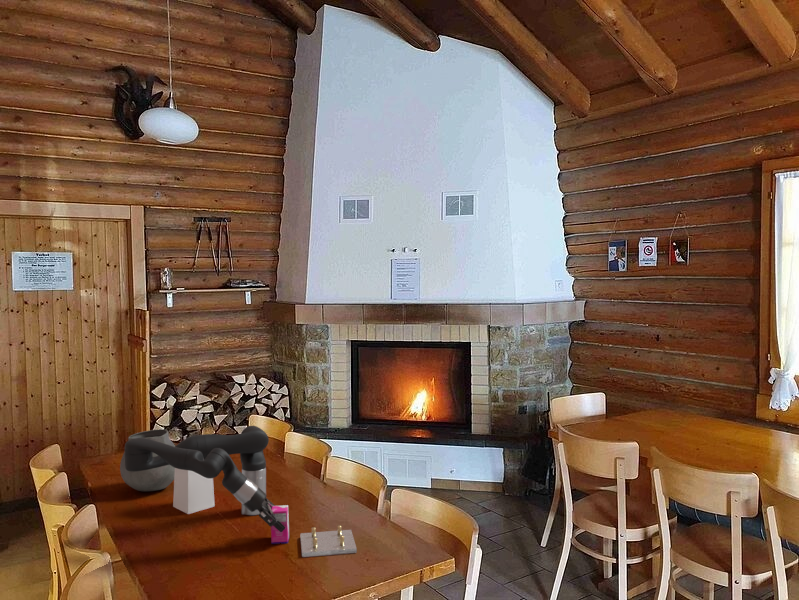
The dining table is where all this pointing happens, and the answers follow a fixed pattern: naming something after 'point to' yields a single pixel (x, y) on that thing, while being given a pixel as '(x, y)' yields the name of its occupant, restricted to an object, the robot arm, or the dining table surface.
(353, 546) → the chassis plate
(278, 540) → the supplement box
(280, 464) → the dining table surface
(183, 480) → the milk
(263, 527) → the dining table surface
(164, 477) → the ceramic pot
